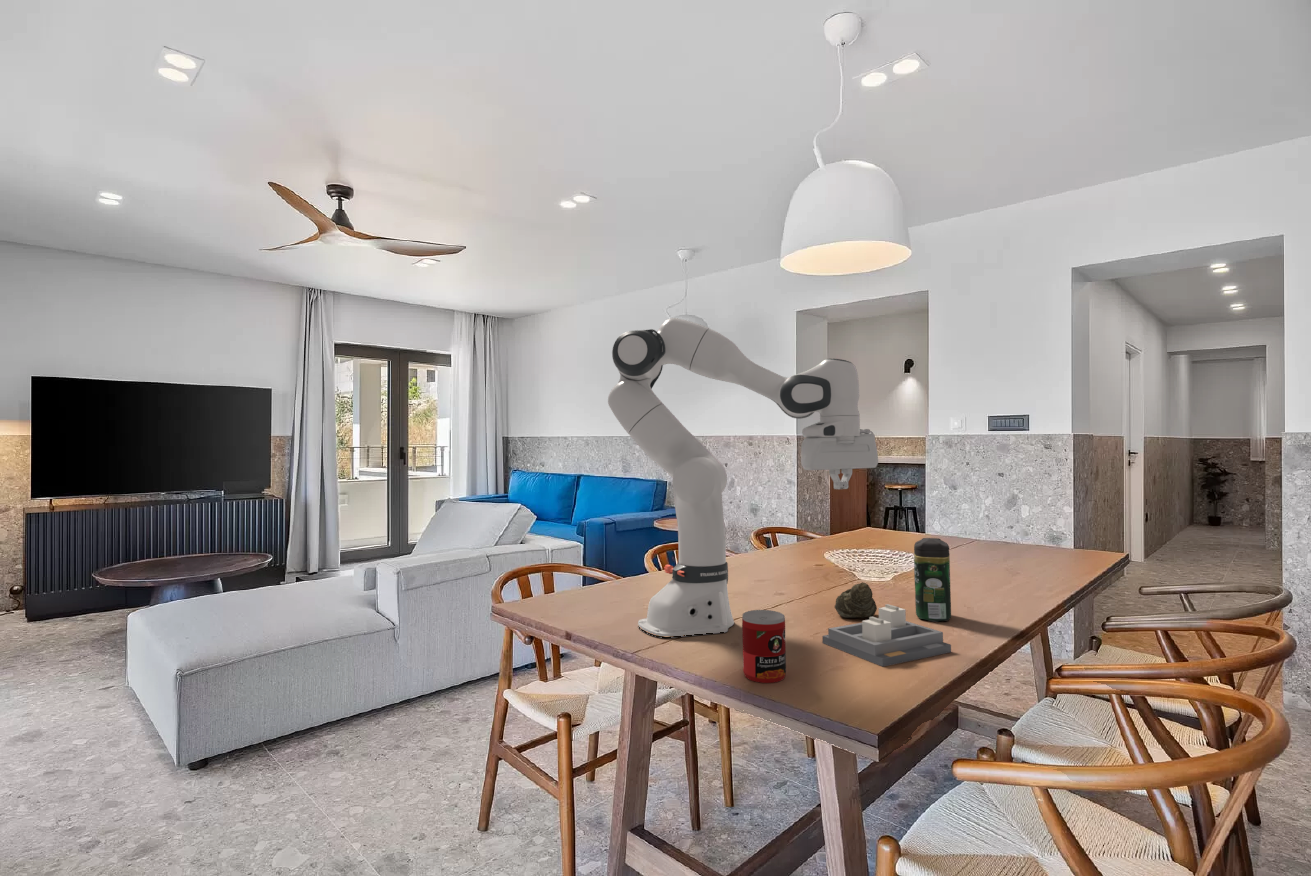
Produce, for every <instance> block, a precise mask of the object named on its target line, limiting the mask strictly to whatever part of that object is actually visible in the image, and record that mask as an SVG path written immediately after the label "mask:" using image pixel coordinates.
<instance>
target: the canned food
mask: <svg viewBox="0 0 1311 876" xmlns="http://www.w3.org/2000/svg"><path fill="white" fill-rule="evenodd" d="M785 618H786V617H785V614H783V613H782V612H780V611H775V610H769V609H754V610H752V609H751V610H748V611H745V612H743V613H742V622H741V623H742V624H741V626H742V629H741V630H742V632H741V633H742V670H743V674H744V677H745V678H746V679H747V680H749V681H752V682H754V683H762V684H771V683H772V684H774V683H778V682H781V681H783V680H784V679H785V677H786V673H787V660H786V659H787V658H786V657H787V656H786V655H787V654H786V653H787V651H786V649H787V647H786V619H785Z"/></svg>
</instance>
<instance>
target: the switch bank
mask: <svg viewBox="0 0 1311 876" xmlns="http://www.w3.org/2000/svg"><path fill="white" fill-rule="evenodd" d="M827 629H828V631H827V632H828V634H825V635H822V640H821V641H822V644H824V645H827V646H829V647H832V648H834V649H835V650H836V649H837V650H839V651H842V652H845V653H847V654H849V655H853V656H855V657H857V658H859V659H862V660H865V661H867V662H870V663H872V664H874V665H878V666H880V667H887V666H892V665H897V664H902V663H907V662H912V661H917V660H922V659H926V658H930V657H934V656H939V655H943V654H944V655H945V654H949V653H952V644H951V643H948V642H945V641H944V632H943V631H940V630H937V629H934V628H930V627H927V626H924V625H920V624H916V623H913V622H910V621H907V620H906V625H905V626H899V627H894V628H891V640H886V641H881V642H876V643H873V642H871V641H868V640H865V639H862V622H858V623H857V622H856V623H852V624H846V625H840V626H836V627H835V626H834V627H829V628H827Z"/></svg>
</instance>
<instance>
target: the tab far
mask: <svg viewBox="0 0 1311 876" xmlns="http://www.w3.org/2000/svg"><path fill="white" fill-rule="evenodd" d="M906 613H907V611H906V609H905V608H901V607H899V606H896V605H893V604H889V603H886V604H884V606H883V607H878V618H879V619H882V620H885V621H888V622H891V628H894V627H899V626H905V625H906V621H907V619H906V618H907V617H906Z"/></svg>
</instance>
